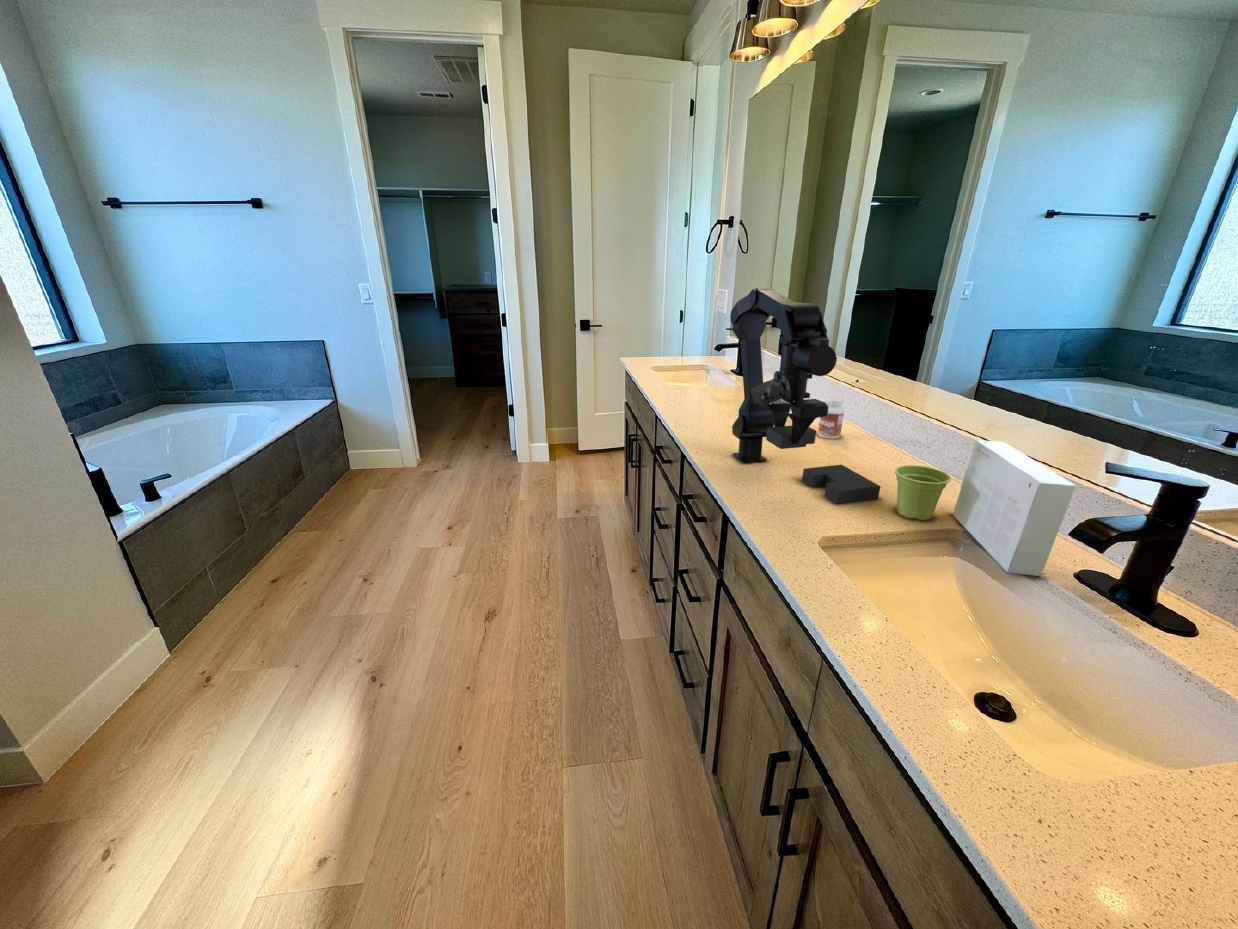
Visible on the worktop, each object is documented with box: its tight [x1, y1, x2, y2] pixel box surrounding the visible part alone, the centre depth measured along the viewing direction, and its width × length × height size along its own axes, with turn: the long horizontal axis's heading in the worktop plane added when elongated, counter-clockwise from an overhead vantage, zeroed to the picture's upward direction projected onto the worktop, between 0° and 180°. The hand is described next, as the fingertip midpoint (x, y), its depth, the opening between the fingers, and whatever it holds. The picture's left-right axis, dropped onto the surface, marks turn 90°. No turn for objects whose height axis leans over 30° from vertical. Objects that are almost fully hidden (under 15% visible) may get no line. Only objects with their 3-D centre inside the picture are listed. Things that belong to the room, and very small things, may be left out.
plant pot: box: [894, 464, 952, 521], centre depth 96 cm, size 9×9×9 cm
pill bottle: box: [817, 396, 845, 440], centre depth 142 cm, size 6×6×11 cm
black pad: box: [765, 424, 817, 450], centre depth 108 cm, size 6×9×3 cm
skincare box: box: [952, 439, 1077, 577], centre depth 84 cm, size 21×6×16 cm, turn 168°
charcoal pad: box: [801, 464, 881, 505], centre depth 109 cm, size 13×10×3 cm
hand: (786, 438), depth 108 cm, fingers closed on black pad, 6 cm apart
